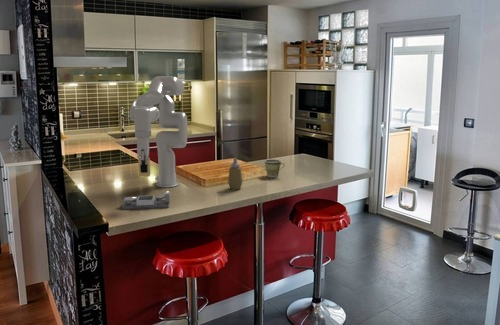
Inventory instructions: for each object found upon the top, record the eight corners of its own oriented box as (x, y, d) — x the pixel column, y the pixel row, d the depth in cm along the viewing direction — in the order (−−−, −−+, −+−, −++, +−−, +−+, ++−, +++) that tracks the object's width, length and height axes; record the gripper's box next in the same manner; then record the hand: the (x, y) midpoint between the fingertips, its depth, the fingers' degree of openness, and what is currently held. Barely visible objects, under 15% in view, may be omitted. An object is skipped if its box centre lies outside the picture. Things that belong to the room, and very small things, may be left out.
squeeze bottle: (242, 186, 251) (242, 156, 247) (242, 190, 243) (242, 159, 239) (228, 186, 250) (228, 156, 247) (228, 190, 242) (227, 158, 239)
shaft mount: (121, 209, 208) (121, 194, 206) (124, 203, 217) (123, 189, 215) (170, 207, 211) (169, 193, 210) (170, 202, 220) (170, 188, 219)
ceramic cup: (262, 177, 274) (262, 161, 272) (268, 173, 283) (269, 158, 281) (280, 179, 268) (281, 163, 266) (287, 176, 277) (287, 160, 275)
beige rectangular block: (139, 176, 208) (138, 159, 206) (139, 173, 213) (139, 157, 211) (149, 176, 209) (149, 159, 207) (150, 173, 214) (149, 157, 212)
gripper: (136, 131, 215) (138, 167, 218) (133, 136, 198) (134, 175, 202) (152, 131, 216) (153, 167, 219) (149, 136, 199) (151, 175, 203)
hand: (144, 170), depth 210 cm, fingers closed on beige rectangular block, 5 cm apart
